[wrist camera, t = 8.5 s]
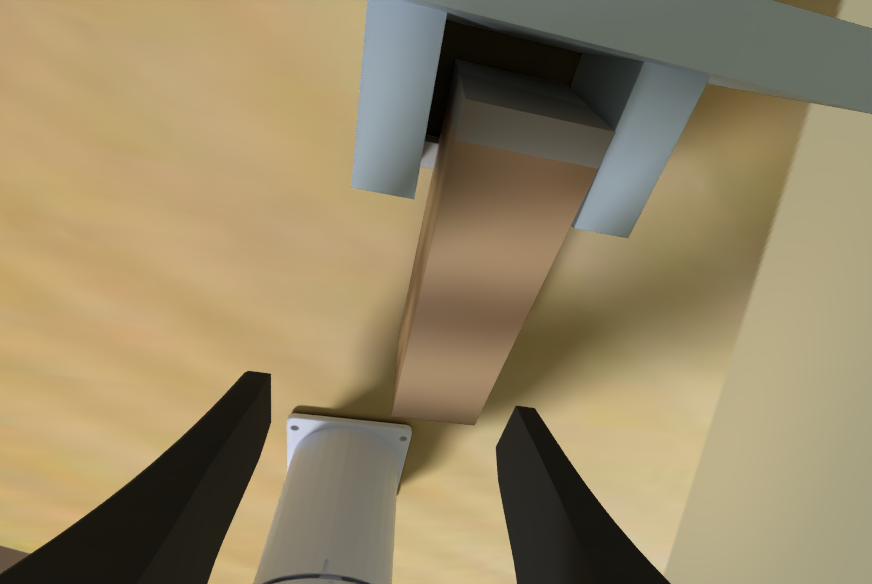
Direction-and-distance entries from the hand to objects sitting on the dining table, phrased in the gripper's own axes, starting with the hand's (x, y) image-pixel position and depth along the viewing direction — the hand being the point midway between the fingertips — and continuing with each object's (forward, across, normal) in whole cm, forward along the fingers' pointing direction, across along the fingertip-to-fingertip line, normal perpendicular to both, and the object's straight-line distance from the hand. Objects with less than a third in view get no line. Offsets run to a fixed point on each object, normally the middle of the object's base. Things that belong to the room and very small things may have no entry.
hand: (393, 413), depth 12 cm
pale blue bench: (+9, -2, -8) cm, 13 cm away
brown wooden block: (+8, -2, -2) cm, 9 cm away
